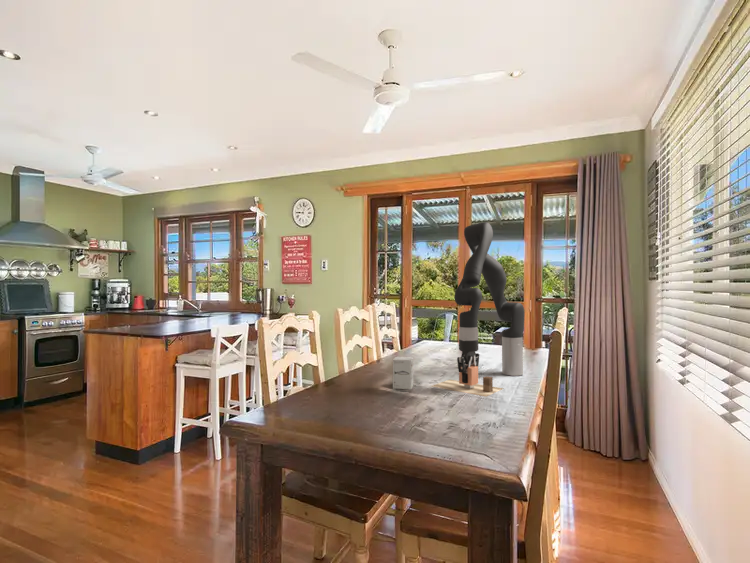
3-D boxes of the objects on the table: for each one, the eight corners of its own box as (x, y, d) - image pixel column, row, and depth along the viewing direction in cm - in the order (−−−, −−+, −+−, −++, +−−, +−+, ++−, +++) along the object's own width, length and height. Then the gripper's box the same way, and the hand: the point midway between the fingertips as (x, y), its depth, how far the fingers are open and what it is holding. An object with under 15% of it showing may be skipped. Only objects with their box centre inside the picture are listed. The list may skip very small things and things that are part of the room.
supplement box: (392, 391, 162) (392, 359, 162) (395, 386, 170) (395, 356, 170) (411, 392, 161) (410, 360, 161) (413, 387, 168) (413, 356, 168)
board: (449, 382, 177) (449, 379, 177) (503, 391, 161) (503, 388, 161) (430, 389, 166) (430, 386, 166) (486, 399, 150) (486, 396, 150)
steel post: (467, 386, 165) (467, 373, 165) (473, 387, 163) (473, 374, 163) (464, 387, 163) (464, 374, 163) (470, 388, 161) (470, 375, 161)
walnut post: (486, 389, 159) (486, 376, 159) (492, 390, 158) (492, 377, 158) (483, 391, 157) (483, 377, 157) (489, 392, 156) (489, 378, 156)
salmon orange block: (465, 381, 167) (465, 364, 167) (478, 383, 163) (478, 366, 163) (459, 383, 162) (459, 366, 163) (471, 385, 159) (471, 368, 159)
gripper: (468, 335, 171) (468, 377, 171) (450, 339, 160) (450, 383, 160) (485, 337, 166) (485, 379, 166) (468, 341, 155) (468, 386, 155)
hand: (468, 381), depth 163 cm, fingers closed on salmon orange block, 5 cm apart
